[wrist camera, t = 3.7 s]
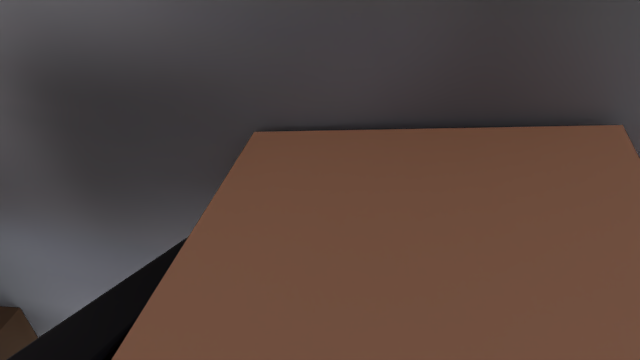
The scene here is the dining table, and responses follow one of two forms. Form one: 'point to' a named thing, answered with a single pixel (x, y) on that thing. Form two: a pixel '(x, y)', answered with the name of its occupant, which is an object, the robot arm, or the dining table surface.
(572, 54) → the dining table surface
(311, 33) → the dining table surface
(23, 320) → the domino
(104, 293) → the robot arm
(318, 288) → the domino
